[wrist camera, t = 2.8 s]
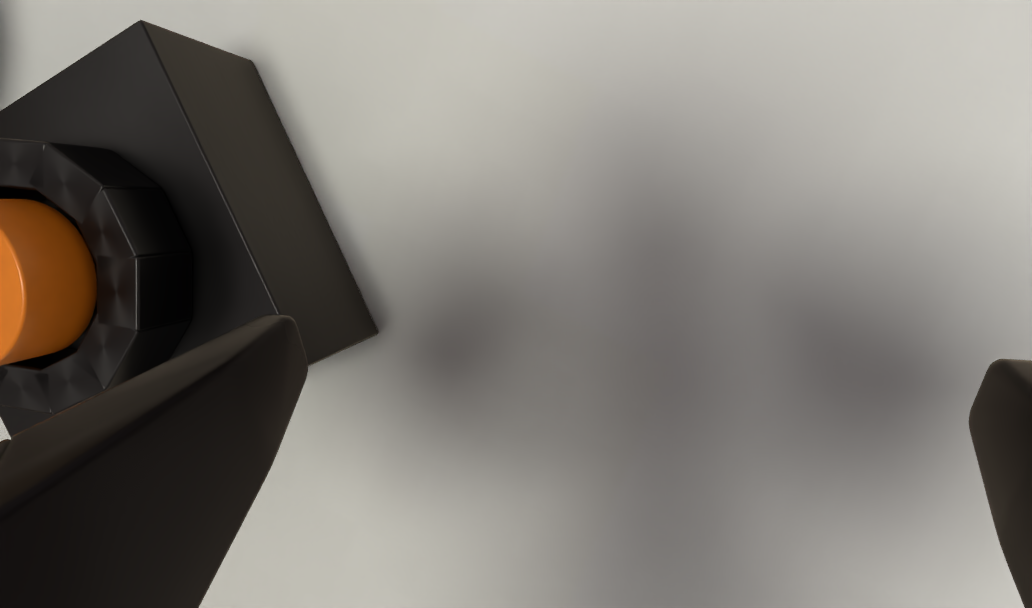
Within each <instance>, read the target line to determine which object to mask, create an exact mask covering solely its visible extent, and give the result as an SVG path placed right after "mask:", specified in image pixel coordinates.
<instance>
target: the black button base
mask: <svg viewBox="0 0 1032 608" xmlns="http://www.w3.org/2000/svg"><path fill="white" fill-rule="evenodd" d="M0 199H28V200H34V201H37V202H40V203H43V204H46V205H48V206H50V207H52V208H54V209H55V210H57V211H58V212H60V213H61V214H63V215H64V216H65V217H66V218H67V219H68V220H69V221H70V222H71V223H72V224H73V225H74V226H75V227H76V228H77V230H78V231H79V232H80V234H81V235H82V237H83V238H84V240H85V242H86V244H87V246H88V248H89V250H90V252H91V255H92V258H93V261H94V264H95V269H96V276H97V300H96V306H95V309H94V313H93V316H92V318H91V320H90V323H89V325H88V326H87V328H86V329H85V331H84V332H83V333H82V335H81V336H80V337H79V338H78V339H77V340H76V341H75V342H73V343H72V344H71V345H69V346H68V347H66V348H65V349H63V350H60V351H58V352H55V353H51V354H47V355H43V356H38V357H34V358H30V359H26V360H22V361H18V362H14V363H9V364H5V365H1V366H0V417H1V419H2V421H3V423H4V425H5V427H6V429H7V431H8V433H9V435H10V437H11V438H12V437H13V436H14V435H16V434H18V433H20V432H22V431H24V430H26V429H28V428H30V427H32V426H34V425H36V424H38V423H41V422H43V421H45V420H47V419H49V418H51V417H53V416H55V415H57V414H59V413H61V412H63V411H65V410H67V409H69V408H71V407H74V406H76V405H78V404H80V403H82V402H84V401H86V400H88V399H90V398H92V397H94V396H96V395H98V394H100V393H102V392H104V391H107V390H109V389H111V388H113V387H115V386H117V385H119V384H121V383H123V382H125V381H127V380H129V379H131V378H133V377H135V376H137V375H140V374H142V373H144V372H146V371H148V370H150V369H152V368H154V367H156V366H158V365H160V364H162V363H164V362H166V361H168V360H170V359H173V358H175V357H177V356H179V355H181V354H183V353H185V352H187V351H189V350H191V349H193V348H195V347H197V346H199V345H201V344H203V343H206V342H208V341H210V340H212V339H214V338H216V337H218V336H220V335H222V334H224V333H226V332H228V331H230V330H232V329H234V328H236V327H238V326H241V325H243V324H245V323H247V322H249V321H251V320H253V319H255V318H257V317H259V316H261V315H266V314H270V315H286V316H290V317H291V318H293V319H294V321H295V322H296V324H297V327H298V330H299V334H300V337H301V340H302V344H303V347H304V350H305V354H306V357H307V361H308V366H310V365H312V364H314V363H316V362H318V361H320V360H323V359H325V358H327V357H329V356H331V355H333V354H336V353H338V352H340V351H342V350H344V349H347V348H349V347H351V346H353V345H355V344H357V343H360V342H362V341H364V340H366V339H368V338H370V337H373V336H375V335H377V334H378V330H377V328H376V326H375V324H374V322H373V320H372V318H371V315H370V313H369V311H368V309H367V307H366V305H365V303H364V300H363V298H362V296H361V294H360V292H359V290H358V288H357V285H356V283H355V281H354V279H353V277H352V275H351V273H350V270H349V268H348V266H347V264H346V262H345V260H344V258H343V255H342V253H341V251H340V249H339V247H338V245H337V243H336V240H335V238H334V236H333V234H332V232H331V230H330V228H329V225H328V223H327V221H326V219H325V217H324V215H323V213H322V210H321V208H320V206H319V204H318V202H317V200H316V198H315V195H314V193H313V191H312V189H311V187H310V185H309V183H308V180H307V178H306V176H305V174H304V172H303V170H302V168H301V165H300V163H299V161H298V159H297V157H296V155H295V153H294V150H293V148H292V146H291V144H290V142H289V140H288V138H287V135H286V133H285V131H284V129H283V127H282V125H281V123H280V120H279V118H278V116H277V114H276V112H275V110H274V107H273V105H272V103H271V101H270V99H269V97H268V95H267V92H266V90H265V88H264V86H263V84H262V82H261V80H260V77H259V75H258V73H257V71H256V69H255V67H254V65H253V62H252V61H251V60H248V59H245V58H243V57H240V56H237V55H235V54H232V53H229V52H226V51H224V50H221V49H218V48H216V47H213V46H210V45H208V44H205V43H202V42H199V41H197V40H194V39H191V38H189V37H186V36H183V35H181V34H178V33H175V32H172V31H170V30H167V29H164V28H162V27H159V26H156V25H154V24H151V23H148V22H145V21H143V20H140V21H138V22H136V23H135V24H133V25H132V26H130V27H129V28H127V29H125V30H124V31H122V32H121V33H119V34H118V35H116V36H115V37H113V38H112V39H110V40H109V41H107V42H106V43H104V44H103V45H101V46H99V47H98V48H96V49H95V50H93V51H92V52H90V53H89V54H87V55H86V56H84V57H83V58H81V59H80V60H78V61H76V62H75V63H73V64H72V65H70V66H69V67H67V68H66V69H64V70H63V71H61V72H60V73H58V74H57V75H55V76H54V77H52V78H50V79H49V80H47V81H46V82H44V83H43V84H41V85H40V86H38V87H37V88H35V89H34V90H32V91H31V92H29V93H27V94H26V95H24V96H23V97H21V98H20V99H18V100H17V101H15V102H14V103H12V104H11V105H9V106H8V107H6V108H5V109H3V110H1V111H0Z"/></svg>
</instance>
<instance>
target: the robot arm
mask: <svg viewBox="0 0 1032 608" xmlns="http://www.w3.org/2000/svg"><path fill="white" fill-rule="evenodd" d="M307 373H308V361H307V357H306V354H305V350H304V347H303V344H302V340H301V337H300V334H299V330H298V327H297V324H296V322H295V321H294V319H293V318H291V317H290V316H286V315H270V314H266V315H261V316H259V317H257V318H255V319H253V320H251V321H249V322H247V323H245V324H243V325H241V326H238V327H236V328H234V329H232V330H230V331H228V332H226V333H224V334H222V335H220V336H218V337H216V338H214V339H212V340H210V341H208V342H206V343H203V344H201V345H199V346H197V347H195V348H193V349H191V350H189V351H187V352H185V353H183V354H181V355H179V356H177V357H175V358H173V359H170V360H168V361H166V362H164V363H162V364H160V365H158V366H156V367H154V368H152V369H150V370H148V371H146V372H144V373H142V374H140V375H137V376H135V377H133V378H131V379H129V380H127V381H125V382H123V383H121V384H119V385H117V386H115V387H113V388H111V389H109V390H107V391H104V392H102V393H100V394H98V395H96V396H94V397H92V398H90V399H88V400H86V401H84V402H82V403H80V404H78V405H76V406H74V407H71V408H69V409H67V410H65V411H63V412H61V413H59V414H57V415H55V416H53V417H51V418H49V419H47V420H45V421H43V422H41V423H38V424H36V425H34V426H32V427H30V428H28V429H26V430H24V431H22V432H20V433H18V434H16V435H14V436H13V437H12V438H11V440H9V439H5V440H3V441H1V442H0V608H199V606H200V604H201V602H202V600H203V598H204V596H205V594H206V592H207V590H208V588H209V586H210V584H211V583H212V581H213V579H214V577H215V575H216V573H217V571H218V569H219V567H220V565H221V563H222V561H223V559H224V557H225V556H226V554H227V552H228V550H229V548H230V546H231V544H232V542H233V540H234V538H235V536H236V534H237V532H238V531H239V529H240V527H241V525H242V523H243V521H244V519H245V517H246V515H247V513H248V511H249V509H250V507H251V505H252V504H253V502H254V500H255V498H256V496H257V494H258V492H259V490H260V488H261V486H262V484H263V482H264V480H265V478H266V476H267V474H268V472H269V470H270V468H271V466H272V464H273V461H274V459H275V457H276V454H277V452H278V450H279V447H280V444H281V442H282V439H283V437H284V434H285V432H286V429H287V426H288V424H289V421H290V419H291V416H292V414H293V411H294V408H295V406H296V403H297V401H298V398H299V396H300V393H301V390H302V388H303V385H304V383H305V380H306V377H307ZM969 429H970V433H971V437H972V441H973V445H974V449H975V452H976V456H977V460H978V464H979V468H980V471H981V475H982V479H983V483H984V487H985V491H986V494H987V498H988V502H989V506H990V510H991V514H992V517H993V521H994V525H995V528H996V532H997V535H998V538H999V542H1000V545H1001V548H1002V550H1003V553H1004V556H1005V559H1006V561H1007V564H1008V567H1009V569H1010V572H1011V574H1012V577H1013V579H1014V582H1015V584H1016V587H1017V589H1018V592H1019V594H1020V597H1021V599H1022V602H1023V604H1024V607H1025V608H1032V361H1031V360H1014V359H998V360H996V361H994V362H993V363H992V364H991V365H990V366H989V368H988V370H987V372H986V374H985V377H984V379H983V381H982V384H981V386H980V388H979V391H978V393H977V396H976V398H975V400H974V403H973V405H972V407H971V410H970V415H969Z"/></svg>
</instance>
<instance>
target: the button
mask: <svg viewBox="0 0 1032 608" xmlns="http://www.w3.org/2000/svg"><path fill="white" fill-rule="evenodd" d="M96 300H97V276H96V269H95V264H94V261H93V258H92V255H91V252H90V250H89V248H88V246H87V244H86V242H85V240H84V238H83V237H82V235H81V234H80V232H79V231H78V230H77V228H76V227H75V226H74V225H73V224H72V223H71V222H70V221H69V220H68V219H67V218H66V217H65V216H64V215H63V214H61V213H60V212H58V211H57V210H55V209H54V208H52V207H50V206H48V205H46V204H43V203H40V202H37V201H34V200H28V199H0V366H1V365H5V364H9V363H14V362H18V361H22V360H26V359H30V358H34V357H38V356H43V355H47V354H51V353H55V352H58V351H60V350H63V349H65V348H66V347H68V346H69V345H71V344H72V343H73V342H75V341H76V340H77V339H78V338H79V337H80V336H81V335H82V333H83V332H84V331H85V329H86V328H87V326H88V325H89V323H90V320H91V318H92V316H93V313H94V309H95V306H96Z"/></svg>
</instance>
